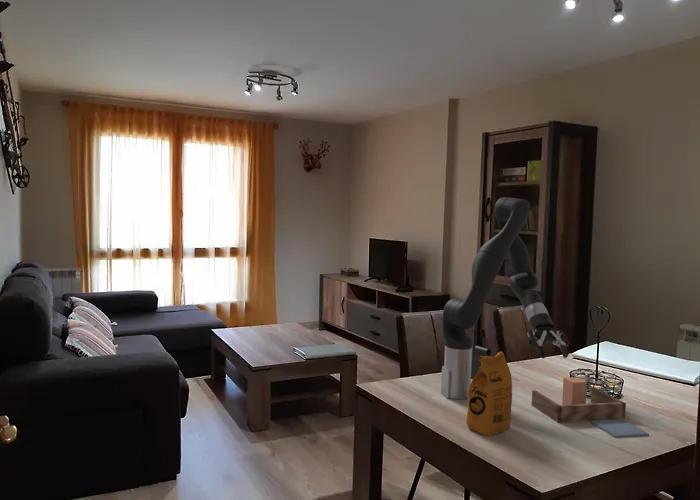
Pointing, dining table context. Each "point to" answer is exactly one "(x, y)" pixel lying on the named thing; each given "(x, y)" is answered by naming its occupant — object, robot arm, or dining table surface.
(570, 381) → the terracotta block
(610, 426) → the slate mat
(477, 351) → the door stopper
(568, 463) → the dining table surface
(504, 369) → the coffee package
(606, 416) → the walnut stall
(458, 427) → the dining table surface
